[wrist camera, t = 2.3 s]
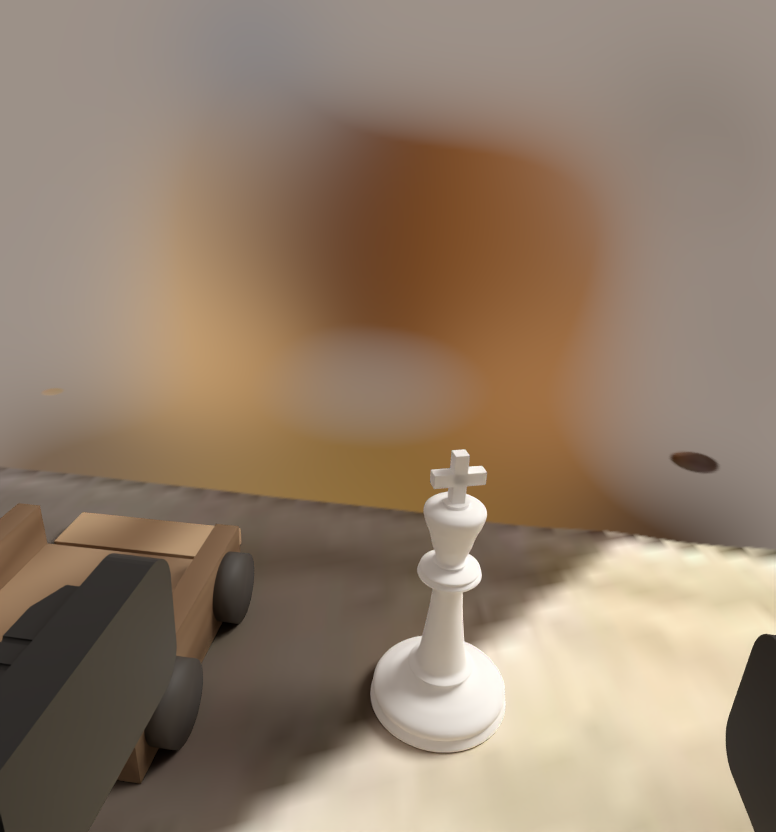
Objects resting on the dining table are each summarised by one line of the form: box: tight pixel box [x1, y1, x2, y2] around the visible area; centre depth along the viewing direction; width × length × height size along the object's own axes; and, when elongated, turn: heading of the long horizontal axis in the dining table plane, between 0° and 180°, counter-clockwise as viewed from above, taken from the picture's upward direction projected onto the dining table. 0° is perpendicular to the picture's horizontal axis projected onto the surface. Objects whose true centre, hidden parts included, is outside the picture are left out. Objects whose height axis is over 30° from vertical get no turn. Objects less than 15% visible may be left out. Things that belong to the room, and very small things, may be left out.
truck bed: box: [0, 503, 254, 784], centre depth 27 cm, size 12×13×3 cm
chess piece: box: [370, 449, 506, 752], centre depth 23 cm, size 5×5×10 cm
